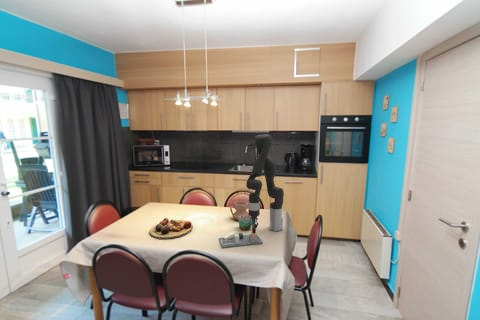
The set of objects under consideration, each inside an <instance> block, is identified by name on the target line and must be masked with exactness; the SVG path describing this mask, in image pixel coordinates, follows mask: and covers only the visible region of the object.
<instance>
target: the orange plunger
mask: <svg viewBox="0 0 480 320" xmlns="http://www.w3.org/2000/svg"><path fill="white" fill-rule="evenodd" d="M250 234H251V237H257V234H258V233H257V231H256V233H252V231H251V233H250Z"/></svg>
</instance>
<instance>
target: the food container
mask: <svg viewBox="0 0 480 320" xmlns="http://www.w3.org/2000/svg"><path fill="white" fill-rule="evenodd" d="M250 217H251V216H250ZM250 217H247V216H239V215H238V219H239V220H238V228H239V229H240V230H242V231H249V230H250V231H251V230H252V225H251V221H250Z"/></svg>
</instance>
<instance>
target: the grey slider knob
mask: <svg viewBox="0 0 480 320" xmlns="http://www.w3.org/2000/svg"><path fill="white" fill-rule="evenodd" d="M238 234H239V233H235V243H238V242H239V235H238Z"/></svg>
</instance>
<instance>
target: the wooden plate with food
mask: <svg viewBox="0 0 480 320" xmlns="http://www.w3.org/2000/svg"><path fill="white" fill-rule="evenodd" d="M193 228H194V225H193V224H192V222H191V221H190V220H184V219H170V220H169V219H168V218H167V217H164V218H163V220H161V221H159V223H157V224H155V225H153V226H152V227H151V228H150V229H149V235H150V236H151V237H152V238H155V239H158V240H172V239H177V238H180V237H184V236H186V235H187V234H189V233H191V232H192V231H193Z"/></svg>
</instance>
